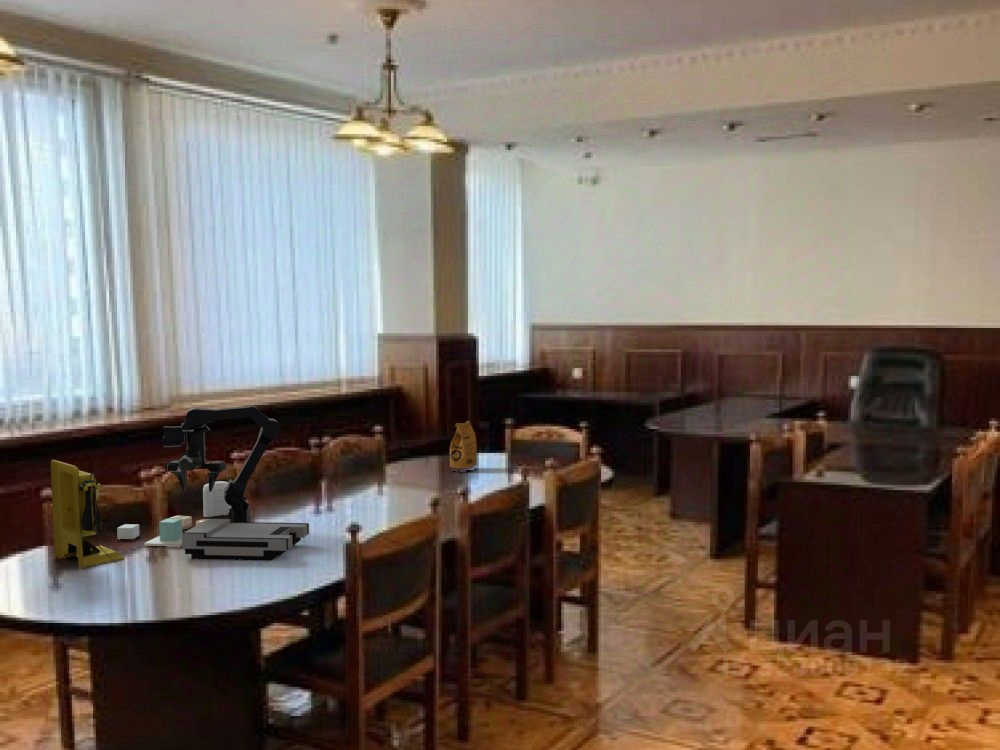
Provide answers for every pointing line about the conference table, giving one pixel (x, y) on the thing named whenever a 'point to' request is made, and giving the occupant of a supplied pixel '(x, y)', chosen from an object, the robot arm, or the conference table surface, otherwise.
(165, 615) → the conference table surface
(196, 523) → the tan rounded lump
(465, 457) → the coffee package
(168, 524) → the teal block
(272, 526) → the game console
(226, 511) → the photo printer
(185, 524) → the birch block
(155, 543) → the pad
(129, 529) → the grey block
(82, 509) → the vintage telephone
